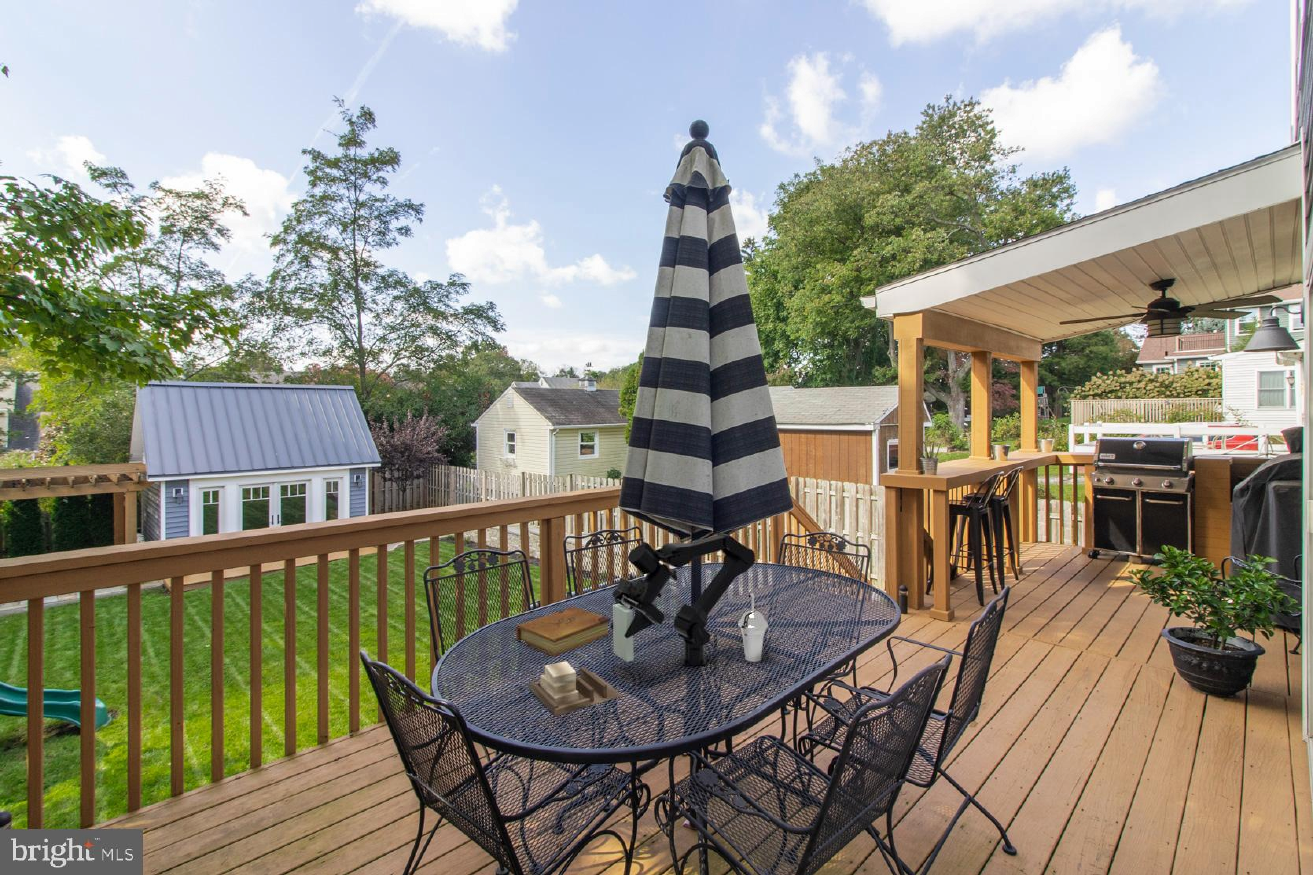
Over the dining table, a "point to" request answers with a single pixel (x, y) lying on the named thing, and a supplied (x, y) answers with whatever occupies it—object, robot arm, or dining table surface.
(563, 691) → the offcut stack
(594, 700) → the tray
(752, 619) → the cup with straw
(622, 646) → the sage panel
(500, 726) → the dining table surface
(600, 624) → the diary
